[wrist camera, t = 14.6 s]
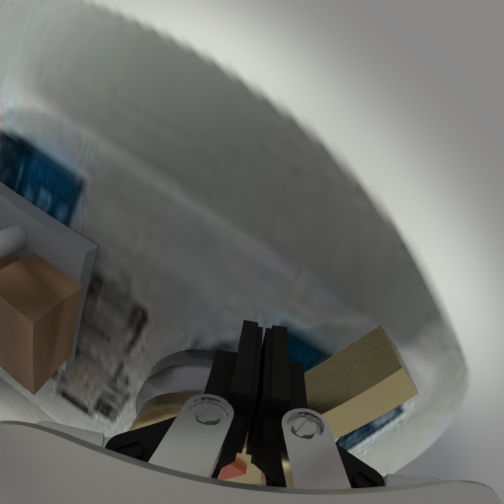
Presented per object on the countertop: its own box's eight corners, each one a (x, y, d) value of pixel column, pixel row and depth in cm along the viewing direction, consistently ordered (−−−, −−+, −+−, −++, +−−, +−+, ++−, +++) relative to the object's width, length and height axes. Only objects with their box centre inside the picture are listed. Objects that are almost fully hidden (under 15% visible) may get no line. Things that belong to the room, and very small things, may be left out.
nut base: (135, 409, 17) (124, 429, 15) (171, 324, 15) (157, 346, 13) (295, 471, 18) (295, 492, 16) (367, 408, 15) (373, 432, 14)
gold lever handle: (204, 478, 15) (194, 516, 12) (117, 414, 14) (94, 452, 11) (418, 383, 12) (440, 429, 9) (344, 274, 11) (365, 316, 8)
